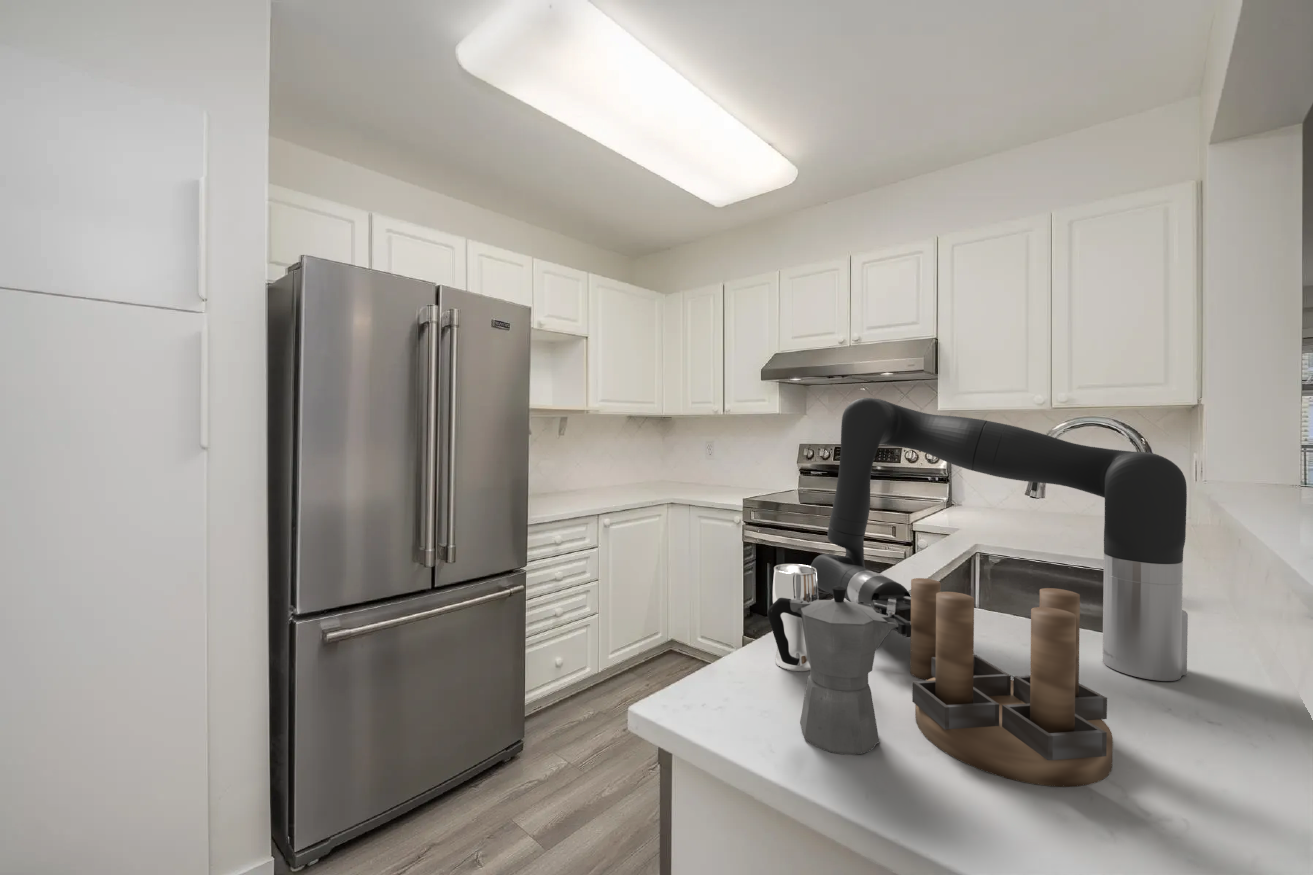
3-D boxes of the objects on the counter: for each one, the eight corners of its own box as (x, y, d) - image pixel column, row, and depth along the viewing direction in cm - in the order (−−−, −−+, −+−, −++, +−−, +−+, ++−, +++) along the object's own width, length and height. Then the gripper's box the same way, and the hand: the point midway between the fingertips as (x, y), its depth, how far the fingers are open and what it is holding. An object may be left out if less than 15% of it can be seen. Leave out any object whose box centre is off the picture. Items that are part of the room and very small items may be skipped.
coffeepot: (901, 729, 70) (902, 583, 70) (892, 770, 62) (893, 604, 61) (778, 701, 77) (778, 569, 77) (755, 734, 69) (755, 586, 69)
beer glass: (819, 674, 85) (820, 575, 85) (772, 670, 87) (772, 572, 87) (816, 656, 92) (816, 564, 92) (772, 653, 94) (772, 562, 93)
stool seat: (1020, 691, 80) (1022, 571, 80) (1164, 780, 60) (1166, 619, 60) (884, 699, 78) (885, 575, 77) (986, 793, 58) (987, 627, 57)
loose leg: (929, 667, 88) (930, 577, 88) (945, 679, 84) (946, 584, 84) (904, 669, 87) (905, 578, 87) (919, 680, 83) (920, 585, 83)
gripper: (838, 576, 99) (887, 606, 82) (916, 574, 100) (979, 602, 84) (838, 619, 99) (887, 657, 83) (916, 616, 101) (979, 653, 84)
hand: (933, 629), depth 83 cm, fingers open, 7 cm apart
